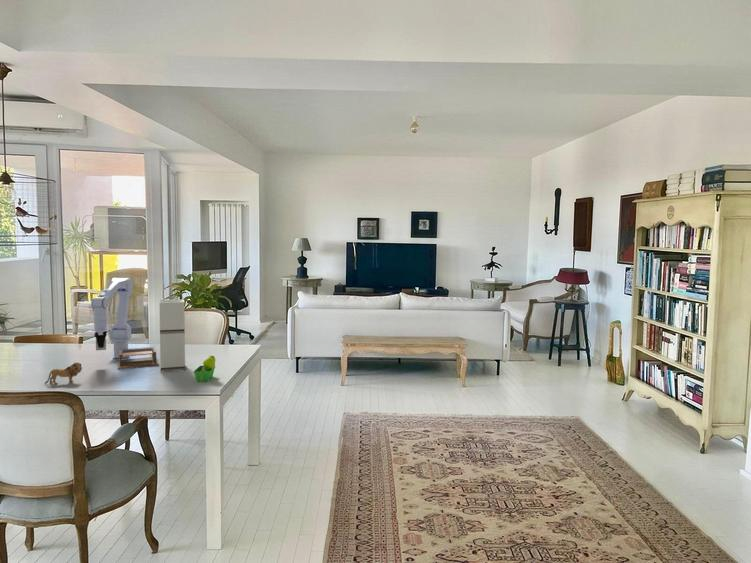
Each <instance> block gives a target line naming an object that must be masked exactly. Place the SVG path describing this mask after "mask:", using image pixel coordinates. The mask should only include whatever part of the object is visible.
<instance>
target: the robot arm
mask: <svg viewBox="0 0 751 563" xmlns="http://www.w3.org/2000/svg"><path fill="white" fill-rule="evenodd" d="M133 288H134V281H133V279H132V278H131V277H112V279H111V280H110V285H109V287H108V288H104V289H103V290H102V291H101V292H100V294H99V295H97V296H94V297H93V298H92V299H91V301H90V302H91V303H90V306H91V308H92V312H93V326H94V327H93V328H91V331H92V332H94V335H93V336H94V338H95V341H96V340H97V343H98V347H99V348H102V347H104V341H105V339H107V333H108V320H107V318H108V317H107V315H108V314H107V310H108V309H107V308H109V304H110V302H111V300H112V299H113V298H114V295H115V293H116V294H118V295H119V298H118V308H117V316H116V322H115V323H114V324H113V325H112V326H111V328H110V331H109V338H110V340H111V341H112V342H113V354H112V358H113V359H119V350H122V359H125V358H130V356H125V357H123V349H129V341H130V340H131V339H132V335H133V334H132V327H131V326H130V325H129V324H128V323H127V321H128V313H129V312H128V310H129V303H130V302H129V301H130V295H131V294H132V293H133Z"/></svg>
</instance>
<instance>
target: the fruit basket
mask: <svg viewBox="0 0 751 563" xmlns="http://www.w3.org/2000/svg"><path fill="white" fill-rule="evenodd" d="M202 364H203V365H198V367H197V368H196V369H195V370H194V371H193V374H194V376H195V380H196V382H209V380H211V378H213V377H214V372H215V368H216V357H215V356H214V355H210V356H208V357H207V358H206V359H204V360H203V362H202Z"/></svg>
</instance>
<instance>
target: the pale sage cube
mask: <svg viewBox="0 0 751 563" xmlns="http://www.w3.org/2000/svg"><path fill="white" fill-rule="evenodd" d="M95 350H96V351H105V350H107V338H105V341H104V347H102V348H99V347H98V343H97V340H96V339H95Z"/></svg>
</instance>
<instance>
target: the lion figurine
mask: <svg viewBox="0 0 751 563" xmlns="http://www.w3.org/2000/svg"><path fill="white" fill-rule="evenodd" d="M82 370H83V368H82V363H80V362H74V363H72V364H71V365H69V366H67V367H66V368H65V369H60V368H53V369H52V370H51V371H50V372H49V374H48V378H47V380H46V381H45V382H44V384H45V385H46V384H48V383H49V384H54V385H59V384H58V382H56V379H57V376H58V377H60V378H68V382H69V384H71V383H72V384H73V383H74V380H73V377H77V376H78V374H79V373H81V371H82Z"/></svg>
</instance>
